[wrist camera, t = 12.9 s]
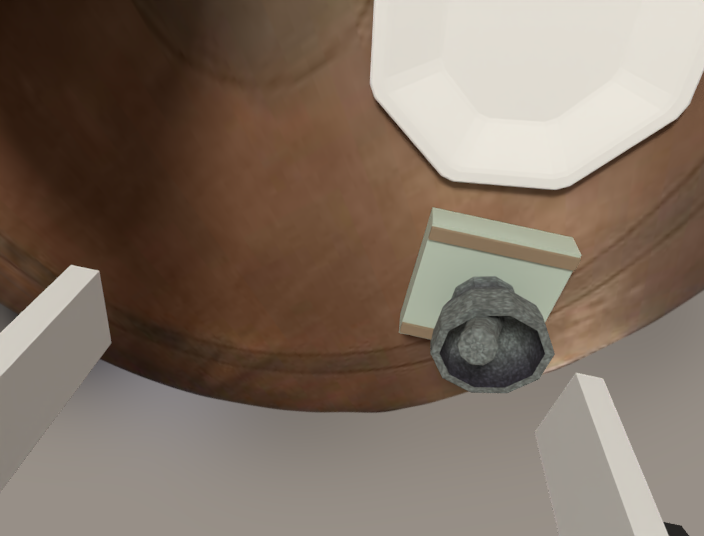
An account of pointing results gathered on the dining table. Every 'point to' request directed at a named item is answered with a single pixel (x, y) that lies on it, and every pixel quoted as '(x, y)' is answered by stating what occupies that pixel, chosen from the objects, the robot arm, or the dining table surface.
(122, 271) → the dining table surface
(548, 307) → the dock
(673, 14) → the plate
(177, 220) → the dining table surface
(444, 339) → the mortar and pestle
